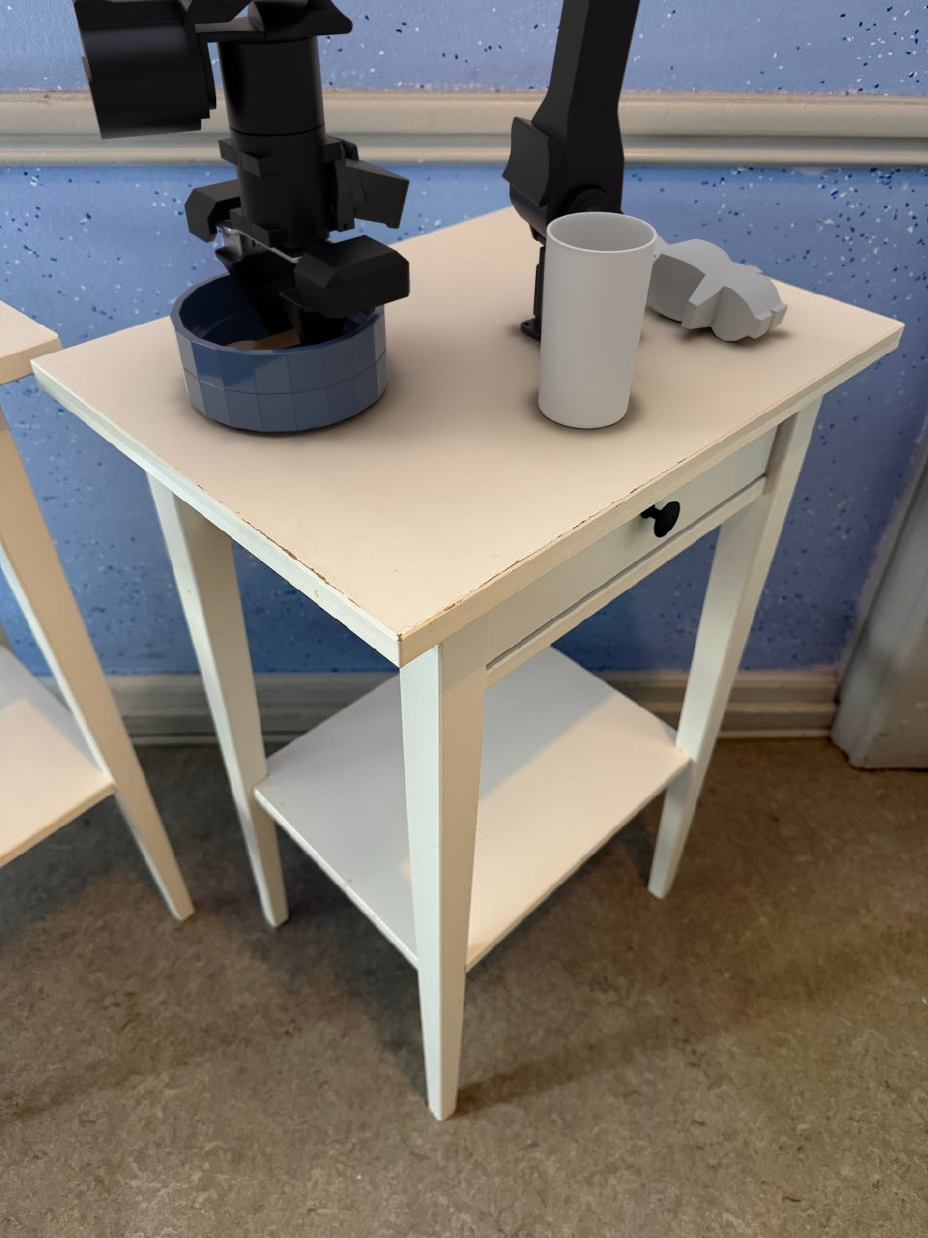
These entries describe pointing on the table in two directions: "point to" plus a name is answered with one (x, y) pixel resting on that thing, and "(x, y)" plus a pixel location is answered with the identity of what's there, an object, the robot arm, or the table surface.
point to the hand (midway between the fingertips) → (305, 362)
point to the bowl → (273, 364)
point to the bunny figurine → (712, 290)
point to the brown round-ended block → (274, 342)
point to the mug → (592, 315)
